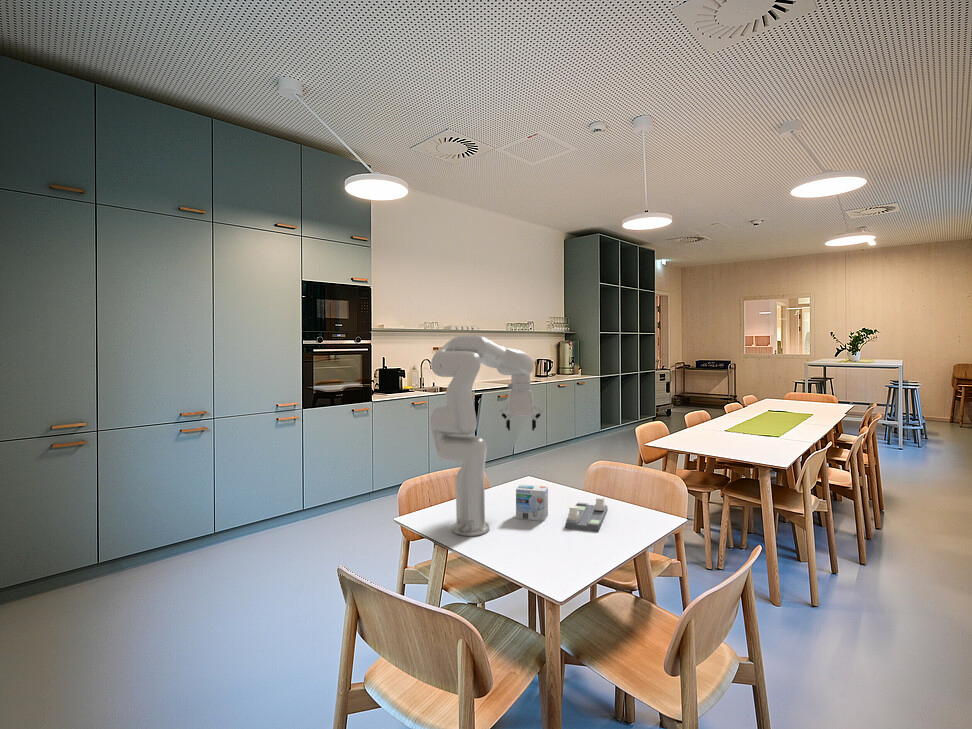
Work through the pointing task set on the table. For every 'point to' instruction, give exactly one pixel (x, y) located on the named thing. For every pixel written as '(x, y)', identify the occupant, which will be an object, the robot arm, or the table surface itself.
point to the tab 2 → (600, 504)
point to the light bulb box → (532, 502)
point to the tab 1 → (573, 513)
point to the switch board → (587, 518)
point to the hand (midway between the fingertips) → (521, 430)
